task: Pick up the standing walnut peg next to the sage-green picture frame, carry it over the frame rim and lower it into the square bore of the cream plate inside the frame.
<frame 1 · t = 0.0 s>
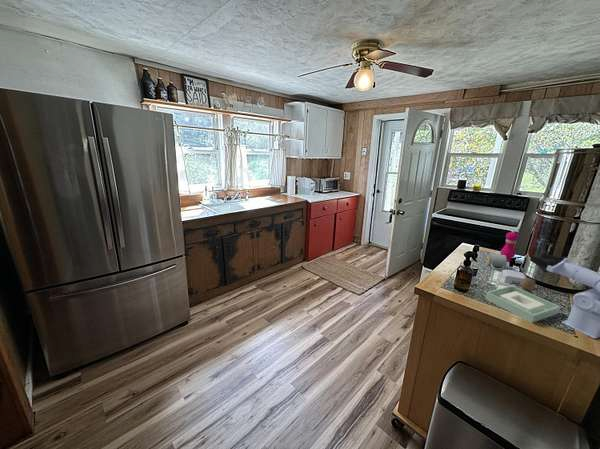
hand: (536, 256, 108), 22 cm above the countertop, tool horizontal, fingers open, 7 cm apart
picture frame: (519, 306, 109), on the countertop
ceramic mug: (496, 267, 148), on the countertop
charger: (511, 280, 133), on the countertop
peg: (525, 294, 119), on the countertop
pepper mill: (505, 260, 158), on the countertop
bore plate: (519, 305, 109), resting on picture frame
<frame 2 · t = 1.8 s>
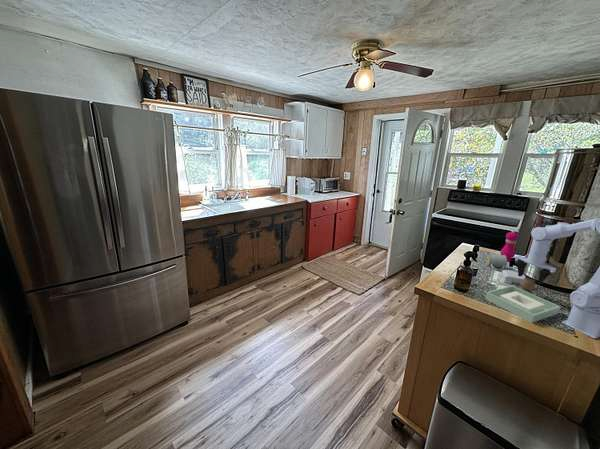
hand: (529, 279, 117), 8 cm above the countertop, tool pointing down, fingers open, 7 cm apart
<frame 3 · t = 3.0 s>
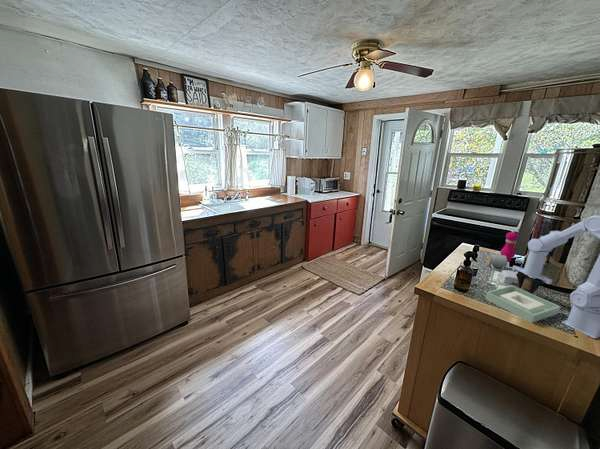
hand: (526, 290, 118), 2 cm above the countertop, tool pointing down, fingers closed on peg, 4 cm apart
peg: (525, 294, 119), on the countertop, touching gripper
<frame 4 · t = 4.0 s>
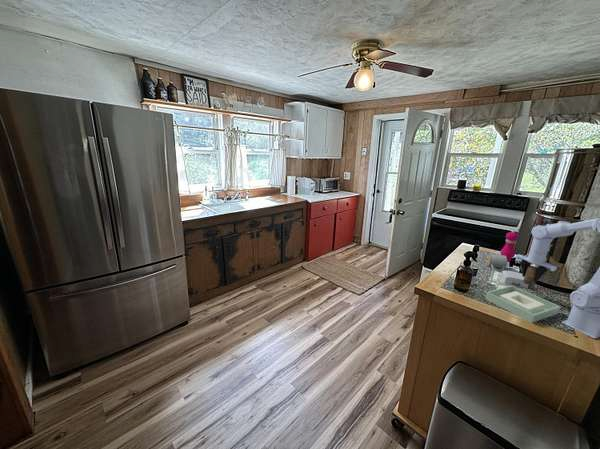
hand: (530, 278, 116), 9 cm above the countertop, tool pointing down, fingers closed on peg, 4 cm apart
peg: (528, 283, 117), point 6 cm above the countertop, touching gripper
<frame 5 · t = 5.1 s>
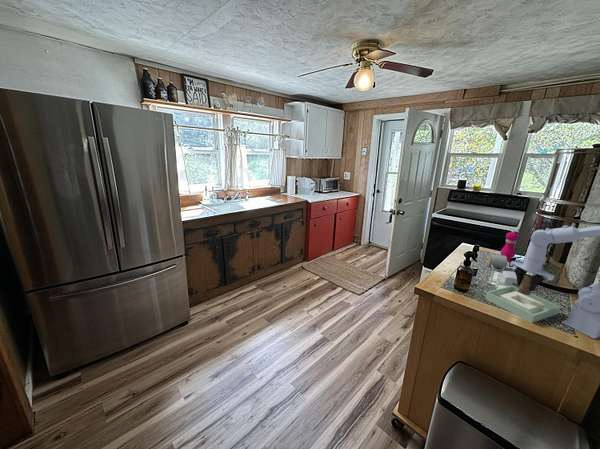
hand: (525, 287, 107), 9 cm above the countertop, tool pointing down, fingers closed on peg, 4 cm apart
peg: (524, 292, 107), point 7 cm above the countertop, touching gripper
when the fingers open (5 cm above the countertop, at t = 7.4 s): peg drops 2 cm, resting on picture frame.
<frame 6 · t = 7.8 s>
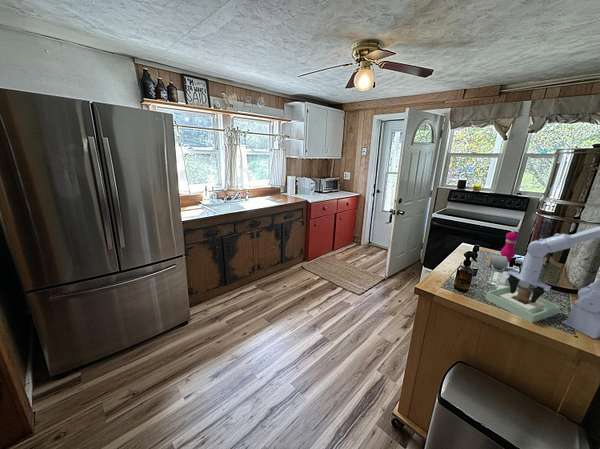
hand: (522, 297, 108), 5 cm above the countertop, tool pointing down, fingers open, 7 cm apart
peg: (520, 305, 109), point 1 cm above the countertop, touching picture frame
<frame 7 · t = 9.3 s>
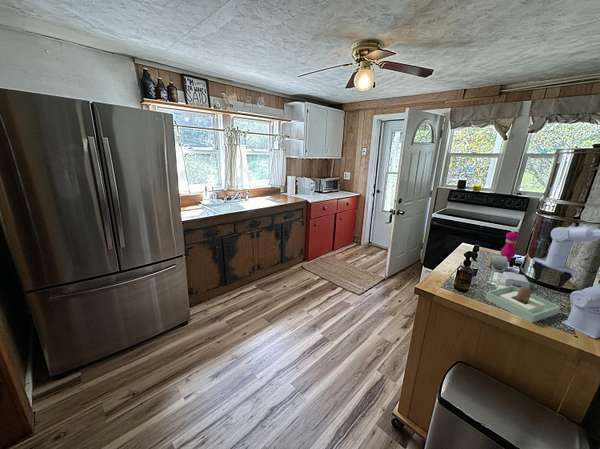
hand: (547, 283, 108), 10 cm above the countertop, tool pointing down, fingers open, 7 cm apart
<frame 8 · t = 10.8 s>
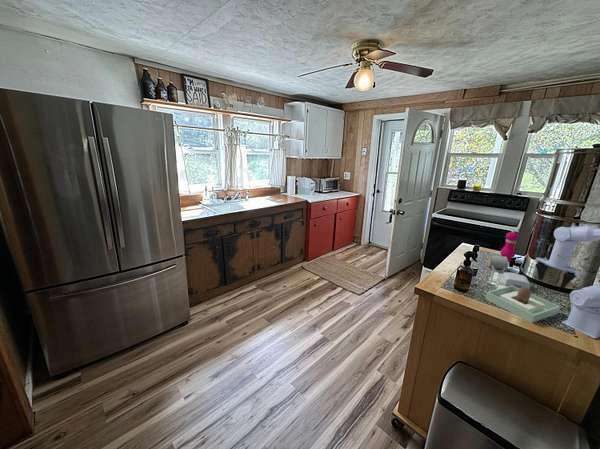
hand: (551, 283, 108), 10 cm above the countertop, tool pointing down, fingers open, 7 cm apart
at the end: peg 0.1 cm off-centre on the bore plate, point 0.1 cm above the bore plate's base; peg tilted 2°; the gripper is holding nothing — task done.
